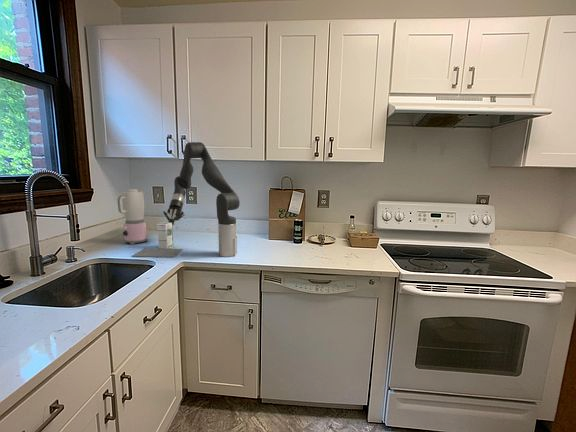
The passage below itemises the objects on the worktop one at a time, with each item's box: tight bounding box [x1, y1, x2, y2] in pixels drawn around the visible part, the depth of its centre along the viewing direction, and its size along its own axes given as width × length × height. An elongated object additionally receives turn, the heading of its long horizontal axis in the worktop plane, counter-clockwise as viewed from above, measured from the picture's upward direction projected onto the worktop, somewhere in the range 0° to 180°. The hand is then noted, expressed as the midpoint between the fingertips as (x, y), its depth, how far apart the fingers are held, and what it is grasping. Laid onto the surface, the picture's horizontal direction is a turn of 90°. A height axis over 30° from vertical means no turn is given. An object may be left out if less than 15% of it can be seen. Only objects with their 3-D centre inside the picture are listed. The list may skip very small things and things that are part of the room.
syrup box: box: [156, 221, 174, 249], centre depth 163 cm, size 6×6×14 cm
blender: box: [117, 188, 148, 246], centre depth 171 cm, size 16×12×32 cm
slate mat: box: [131, 247, 183, 259], centre depth 154 cm, size 21×14×1 cm, turn 91°
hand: (170, 225), depth 170 cm, fingers closed
